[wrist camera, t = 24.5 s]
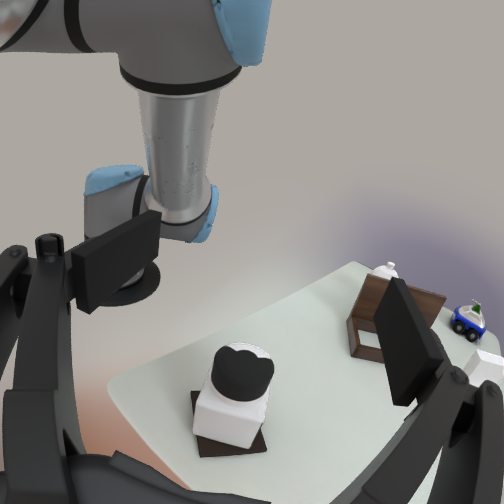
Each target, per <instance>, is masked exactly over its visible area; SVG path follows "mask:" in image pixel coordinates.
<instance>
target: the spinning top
mask: <svg viewBox="0 0 504 504" xmlns="http://www.w3.org/2000/svg"><path fill="white" fill-rule="evenodd" d="M394 266H395V264H394V263H392V262H388V263H387V266H379V267H377V268H375V269H374V270H373V271H372V272H371V274H372V275H375V276H378V277H382V278H385V279H389V280H390V279H391V277H392V276H393V277H396V278H398V274H397V273H396V271H394V269H393V268H394Z"/></svg>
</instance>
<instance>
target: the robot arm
mask: <svg viewBox="0 0 504 504" xmlns="http://www.w3.org/2000/svg"><path fill="white" fill-rule="evenodd" d="M271 2H272V0H0V53H1V52H47V53H96V52H100V53H102V52H116V53H117V54H118V58H119V65H120V72H121V76H122V78H123V80H124V81H125V82H126V83H127V84H128V85H129V86H130V87H132V88H133V89H135V90H137V91H138V95H139V104H140V114H141V122H142V130H143V136H144V144H145V151H146V157H147V164H148V170H149V176H148V175H143V174H144V171H143V167H141V166H136V165H116V166H108V167H102V168H98V169H95V170H93V171H91V172H90V173H89V174H88V176H87V178H86V184H85V192H84V237H85V240H84V242H82V243H80V244H79V245H77V246H75V247H73V248H71V249H70V250H68V251H66V252H64V243H63V236H61V235H59V234H55V233H49V234H44V235H41V236H39V237H37V238H36V239H35V245H36V254H37V259H36V258H30V257H28V252H27V248H26V247H25V246H21V245H14V246H11V247H9V248H7V249H6V250H5V251H3V252H2V253H1V255H0V380H1V377H2V374H3V371H4V369H5V366H6V364H7V361H8V359H9V356H10V354H11V352H12V349H13V347H14V345H15V342H16V340H17V338H18V344H17V351H16V359H15V368H14V379H13V389H12V390H6V391H5V392H4V397H3V419H2V421H3V422H2V427H3V428H2V430H3V431H2V432H3V457H4V468H5V471H1V472H0V504H271V502H268V501H262V500H257V499H252V498H248V497H243V496H239V495H235V494H226V493H210V492H199V491H190V490H186V489H185V488H182V487H181V486H180V485H178V484H176V483H175V482H173V481H171V480H170V479H168V478H167V477H166V476H164V475H163V474H161V473H160V472H158V471H157V470H155V469H154V468H153V467H151V466H149V465H146V464H144V463H142V462H140V461H138V460H136V459H134V458H131V457H129V456H127V455H125V454H123V453H121V452H119V451H117V450H116V451H115V452H114V454H113V456H112V457H110V456H106V455H100V454H87V453H86V450H85V447H84V445H83V442H82V438H81V433H80V428H79V422H78V415H77V408H76V401H75V392H74V382H73V371H72V354H71V305H70V301H71V300H72V299H73V298H76V304H77V309H79V310H81V311H83V312H85V313H87V314H91V313H92V312H93V311H94V310H95V309H96V308H97V307H99V306H100V305H101V304H102V303H103V302H104V301H105V300H107V299H108V298H109V297H110V296H111V295H112V294H114V293H115V292H116V291H118V290H124V289H127V288H130V287H132V286H134V285H136V284H137V283H139V282H140V281H141V279H142V278H143V275H144V267H145V266H146V265H148V264H149V263H150V262H151V261H153V260H154V259H155V258H156V257H157V256H158V249H159V238H166V239H173V240H179V241H185V242H187V243H192V242H194V243H202V242H204V241H205V240H206V239H207V238H208V236H209V234H210V232H211V229H212V224H213V222H214V219H215V215H216V209H217V204H218V195H219V193H218V189H217V187H216V186H215V185H212V184H210V182H209V180H208V178H207V177H206V175H205V173H206V167H207V161H208V155H209V149H210V143H211V137H212V131H213V125H214V120H215V114H216V110H217V104H218V99H219V94H220V90H221V89H222V88H224V87H226V86H228V85H229V84H231V83H232V82H233V81H234V80H235V79H236V78H237V76H238V75H239V74H240V71H241V69H242V66H243V67H248V66H250V65H251V66H257V65H259V64H260V63H261V62H262V56H263V52H264V46H265V40H266V34H267V28H268V22H269V15H270V8H271ZM373 320H374V324H375V327H376V331H377V335H378V339H379V343H380V347H381V351H382V355H383V359H384V363H385V368H386V372H387V376H388V381H389V386H390V391H391V396H392V401H393V405H396V406H406V407H408V406H409V405H410V404H411V403H412V401H413V400H414V399H415V398H416V399H417V403H418V405H417V406H416V407H415V408H414V409H413V410H412V411H411V413H410V414H409V415H408V416H407V417H406V418H405V419H404V421H405V422H404V423H403V424H402V426H401V427H400V428H399V429H398V431H397V432H396V433H395V435H394V436H393V437H392V438H391V440H390V441H389V442H388V443H387V444H386V446H385V447H384V448H383V449H382V450H381V452H380V453H379V454H378V455H377V456H376V457H375V459H374V460H373V461H372V462H371V463H370V464H369V465H368V466H367V467H366V468H365V469H364V471H363V472H362V473H361V474H360V475H359V476H358V477H357V478H356V479H355V480H354V481H353V482H352V483H351V484H350V485H349V486H348V487H347V488H346V489H345V490H344V491H343V492H342V493H341V494H339V495H338V496H337V497H336V498H335V499H334V500H333V501H332V502H331V503H330V504H408V502H409V501H410V499H411V498H412V496H413V495H414V493H415V492H416V490H417V489H418V487H419V486H420V484H421V483H422V481H423V480H424V478H425V476H426V475H427V473H428V471H429V470H430V468H431V466H432V464H433V463H434V461H435V459H436V457H437V455H438V454H439V452H440V450H441V448H442V446H443V448H442V452H441V457H440V461H439V465H438V469H437V473H436V476H435V480H434V483H433V486H432V490H431V493H430V496H429V499H428V502H427V504H500V503H501V495H502V487H503V477H504V406H503V395H502V391H501V390H500V387H499V386H498V385H497V384H496V383H494V382H492V381H490V380H485V381H484V382H483V383H482V384H481V385H480V386H479V388H478V387H476V386H473V385H471V384H469V378H468V376H467V374H466V373H465V372H464V371H463V370H462V369H460V368H458V367H457V366H453V365H452V364H451V362H450V360H449V358H448V356H447V353H446V351H445V350H444V347H443V345H442V344H441V341H440V339H439V337H438V335H437V334H436V333H435V332H434V331H433V330H432V329H430V328H429V326H428V324H427V322H426V320H425V318H424V316H423V314H422V313H421V311H420V309H419V307H418V305H417V303H416V301H415V299H414V298H413V296H412V294H411V292H410V290H409V289H408V287H407V285H406V283H405V282H404V280H403V279H399V278H396V277H393V276H392V277H391V279H390V282H389V284H388V286H387V288H386V291H385V293H384V295H383V297H382V299H381V301H380V303H379V306H378V308H377V310H376V312H375V314H374V316H373ZM18 336H19V337H18Z"/></svg>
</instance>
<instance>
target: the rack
mask: <svg viewBox="0 0 504 504" xmlns="http://www.w3.org/2000/svg"><path fill="white" fill-rule="evenodd" d="M389 282H390V280H389V279H385V278H382V277H378V276H375V275H372V274H367V276H366V279H365V281H364V283H363V286H362V288H361V290H360V293H359V295H358V297H357V300H356V302H355V304H354V306H353V308H352V311H351V313H350V315H349V317H348V319H347V328H348V335H349V343H350V351H351V357H355V358H360V359H365V360H370V361H375V362H380V363H384V359H383V355H382V351H381V349H379V348H374V347H369V346H365V345H361V344H360V339H359V333H358V329H360V330H364V331H368V332H372V333H376V334H377V331H376V327H375V324H374V320H373V316H374V314H375V312H376V310H377V308H378V306H379V303H380V301H381V299H382V297H383V295H384V293H385V291H386V288H387V286H388V284H389ZM407 287H408V289H409V290H410V292H411V294H412V296H413V298H414V299H415V301H416V303H417V305H418V307H419V309H420V311H421V313H422V314H423V316H424V318H425V320H426V322H427V324H428V326H429V328H431V326H432V324H433V323H434V321H435V319H436V317H437V315H438V314H439V312H440V310H441V308H442V306H443V304H444V302H445V301H446V297H445V296H443V295H439V294H436V293H433V292H429V291H426V290H423V289H419V288H416V287H412V286H409V285H407Z"/></svg>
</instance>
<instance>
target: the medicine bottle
mask: <svg viewBox="0 0 504 504" xmlns="http://www.w3.org/2000/svg"><path fill="white" fill-rule="evenodd" d="M273 374H274V364H273V361H272V360H271V358H270V357H269V355H268V354H267V353H266V352H265V351H263V350H262V349H260V348H259V347H257V346H254V345H252V344H248V343H231V344H228V345H226V346H223V347H222V348H220V349H219V350H218V351H217V352H216V354H215V357H214V361H213V362H212V365H211V367H210V370H209V372H208V375H207V377H206V379H205V382H204V384H203V387H202V389H201V392H200V394H199V396H198V399H197V401H196V407H195V414H194V421H193V429H192V432H193V433H194V434H196V435H199V436H202V437H205V438H209V439H212V440H216V441H219V442H223V443H226V444H230V445H234V446H238V447H242V448H246V449H249V448H250V447H251V446H252V444H253V442H254V440H255V438H256V436H257V434H258V432H259V430H260V428H261V426H262V424H263V422H264V419H265V414H266V408H267V403H268V397H269V391H270V385H271V379H272V376H273Z"/></svg>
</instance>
